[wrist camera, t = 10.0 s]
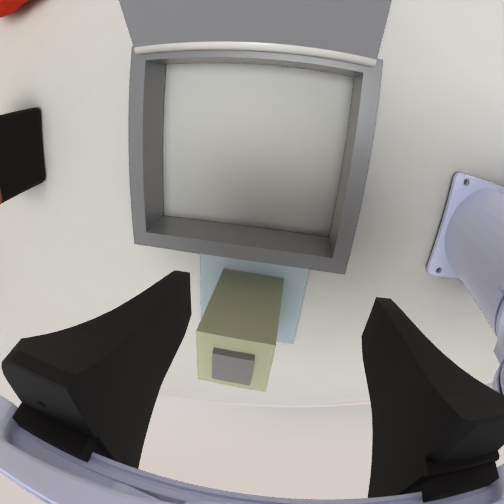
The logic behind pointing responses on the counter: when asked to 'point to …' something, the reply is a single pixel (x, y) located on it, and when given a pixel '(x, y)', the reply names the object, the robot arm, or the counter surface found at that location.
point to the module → (240, 330)
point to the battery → (20, 152)
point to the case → (251, 52)
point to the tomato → (10, 6)
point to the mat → (292, 275)
